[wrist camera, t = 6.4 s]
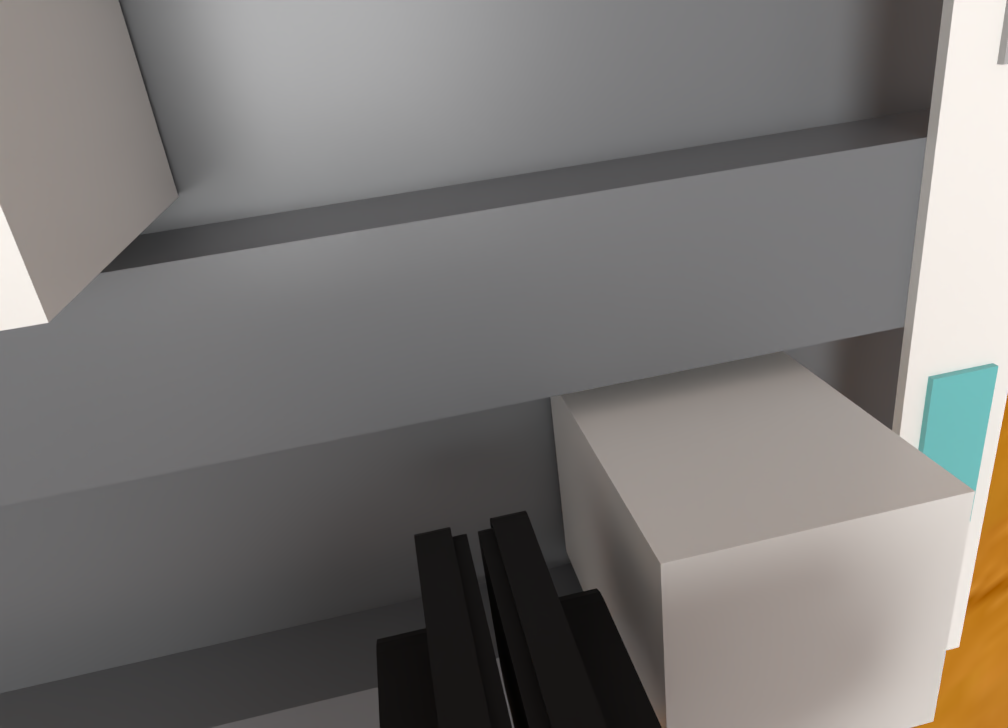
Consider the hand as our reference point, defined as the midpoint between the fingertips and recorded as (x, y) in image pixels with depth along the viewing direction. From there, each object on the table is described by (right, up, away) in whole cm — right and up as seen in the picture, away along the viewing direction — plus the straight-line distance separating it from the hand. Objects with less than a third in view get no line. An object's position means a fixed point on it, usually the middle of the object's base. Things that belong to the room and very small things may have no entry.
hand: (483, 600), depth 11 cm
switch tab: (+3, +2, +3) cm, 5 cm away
